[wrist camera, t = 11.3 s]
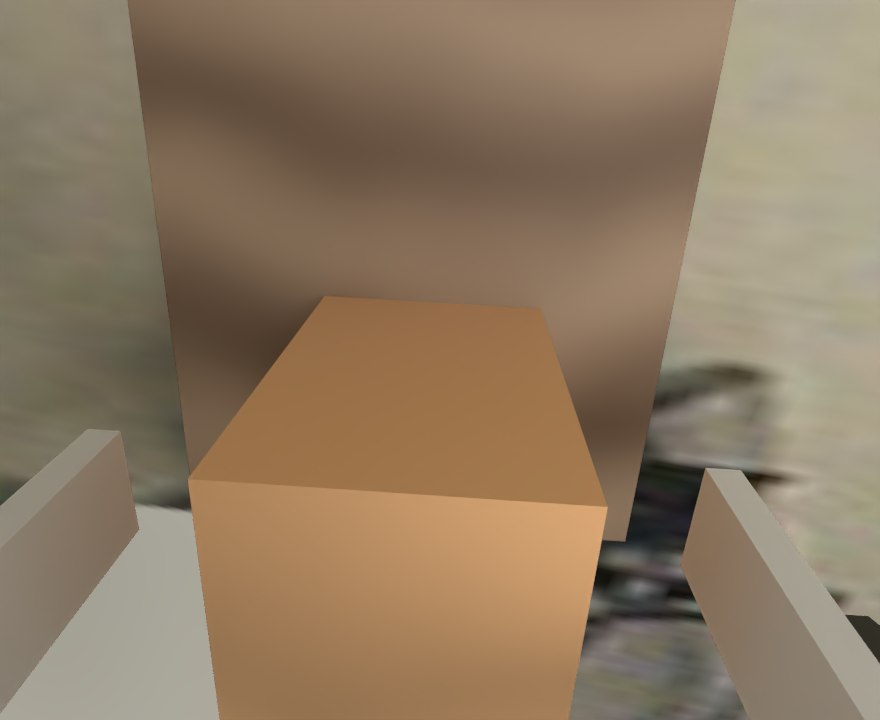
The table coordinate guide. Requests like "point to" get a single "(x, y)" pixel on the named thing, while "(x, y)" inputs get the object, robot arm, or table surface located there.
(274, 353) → the walnut board
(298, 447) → the upright tan block
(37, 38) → the table surface
